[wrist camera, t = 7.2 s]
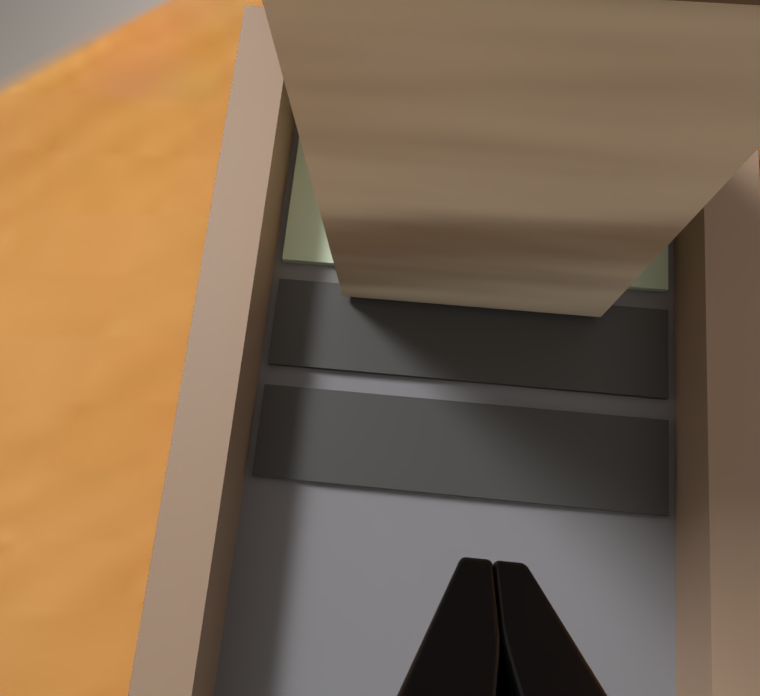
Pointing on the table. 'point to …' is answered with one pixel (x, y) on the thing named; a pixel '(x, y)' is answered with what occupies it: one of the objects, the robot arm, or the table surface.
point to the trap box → (448, 451)
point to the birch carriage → (515, 138)
